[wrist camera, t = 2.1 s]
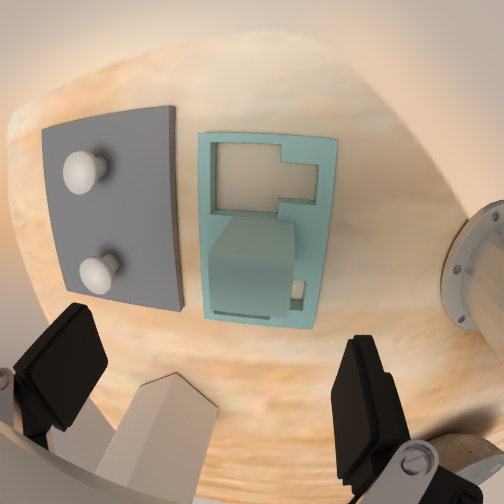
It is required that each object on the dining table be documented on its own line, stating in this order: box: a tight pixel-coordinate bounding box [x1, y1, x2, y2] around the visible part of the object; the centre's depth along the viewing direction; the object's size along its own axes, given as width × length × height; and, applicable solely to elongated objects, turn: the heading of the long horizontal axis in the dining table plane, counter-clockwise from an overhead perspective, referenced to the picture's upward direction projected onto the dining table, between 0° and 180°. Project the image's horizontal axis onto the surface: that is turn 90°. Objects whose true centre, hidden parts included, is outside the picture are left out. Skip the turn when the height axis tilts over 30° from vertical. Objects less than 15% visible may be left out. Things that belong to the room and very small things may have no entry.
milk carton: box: [95, 373, 218, 504], centre depth 21 cm, size 7×7×19 cm
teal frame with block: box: [198, 133, 338, 330], centre depth 17 cm, size 9×14×7 cm, turn 178°
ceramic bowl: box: [428, 434, 504, 486], centre depth 26 cm, size 22×23×10 cm
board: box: [42, 106, 184, 312], centre depth 20 cm, size 13×16×4 cm
